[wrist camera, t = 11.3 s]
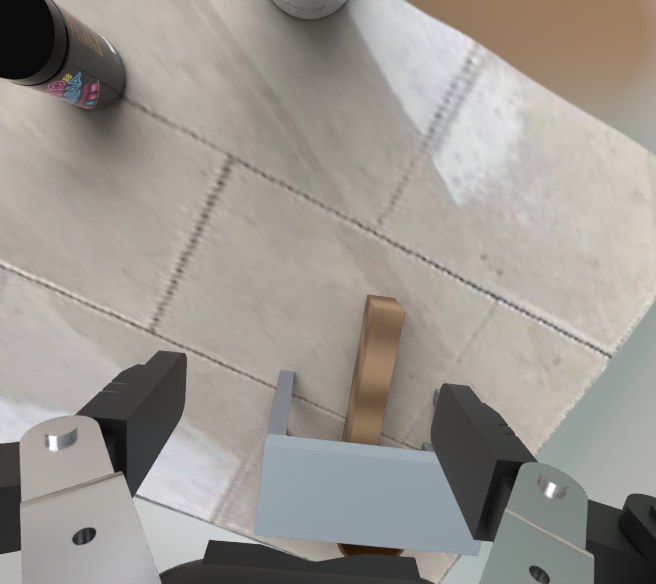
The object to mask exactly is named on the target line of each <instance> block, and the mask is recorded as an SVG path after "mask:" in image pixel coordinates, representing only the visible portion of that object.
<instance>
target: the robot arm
mask: <svg viewBox="0 0 656 584" xmlns="http://www.w3.org/2000/svg"><path fill="white" fill-rule="evenodd" d="M272 1H273V2H274V3H275V4H276V5H277V6H278V7H279V8H280V9H281V10H283V11H284V12H286V13H288V14H290V15H291V16H294V17H298V18H301V19H318V18H323V17H325V16H328V15H330V14H332V13H334V12H335V11H336V10H338V9H339V8H340V7H342V5H343V4H344V3H345V2H346V1H347V0H272ZM186 369H187V357H186V354H185V353H179V352H170V351H161V350H160V351H158V352H157V353H156V354H155V355H154V356H153V357H152V358H151V359H150V360H149V361H148V362H147V363H146V364H145V365H140V364H137V365H135V366H133V367H131V368H129V369H126V370H124V371H122V372H121V373H120V374H119V375H118V376H117V377H116V378H114V379H113V380H112V382H111V383H109V384H108V385H107V386H106V387H105V388H104V389H103V391H100V392H99V393H98V394H97V395H96V396H95V397H94V398H93V399H92V400H91V401H90V402H88V403H87V404H86V405H85V406H84V407H83V408H82V409H81V410H80V411H79V412H78V413H77V414H75V415H72V416H63V417H58V418H54V419H50V420H47V421H45V422H42V423H40V424H38V425H36V426H34V427H33V428H31V429H30V430H29V431H27V432H26V433H25V434H24V435H23V437H22V438H21V440H20V442H14V443H4V444H0V554H4V553H10V552H15V551H20V550H21V554H22V584H434V583H432V582H430V581H428V580H426V579H423V578H420V575H419V571H418V568H417V564H416V560H415V558H413V557H401V556H390V555H378V554H366V553H365V554H359V555H353V556H348V557H342V558H336V559H330V560H324V561H318V562H313V561H308V560H305V559H302V558H299V557H296V556H293V555H290V554H287V553H285V552H282V551H279V550H276V549H273V548H270V547H267V546H264V545H261V544H250V543H239V542H227V541H215V540H209V542H208V545H207V549H206V552H205V555H204V558H203V559H200V560H196V561H192V562H188V563H184V564H181V565H178V566H176V567H173V568H171V569H168V570H166V571H164V572H163V573H160V574H158V572H157V569H156V566H155V563H154V560H153V557H152V554H151V552H150V549H149V546H148V543H147V540H146V537H145V534H144V531H143V529H142V526H141V523H140V520H139V517H138V514H137V511H136V509H135V506H134V503H133V500H132V498H133V497H134V495H135V493H136V492H137V490H138V488H139V487H140V485H141V484H142V482H143V480H144V479H145V477H146V475H147V474H148V472H149V470H150V469H151V467H152V465H153V464H154V462H155V460H156V459H157V457H158V455H159V454H160V452H161V450H162V449H163V447H164V445H165V444H166V442H167V440H168V439H169V437H170V435H171V434H172V432H173V430H174V429H175V427H176V426H177V424H178V422H179V420H180V418H181V416H182V413H183V409H184V405H185V392H186ZM431 443H432V447H433V449H434V451H435V454H436V456H437V458H438V461H439V463H440V465H441V467H442V470H443V472H444V474H445V476H446V479H447V481H448V483H449V485H450V488H451V490H452V492H453V495H454V497H455V499H456V501H457V504H458V506H459V508H460V510H461V513H462V515H463V517H464V519H465V522H466V524H467V526H468V529H469V531H470V533H471V535H472V538H473V540H480V541H492V542H493V545H492V549H491V551H490V554H489V557H488V560H487V563H486V566H485V569H484V571H483V574H482V577H481V580H480V583H479V584H656V498H655V497H652V496H648V495H644V494H631V495H629V496H628V497H627V499H626V501H625V504H624V506H623V509H622V510H620V509H617V508H614V507H611V506H608V505H605V504H601V503H598V502H595V501H592V500H589V499H588V498H587V494H586V492H585V491H584V489H583V488H582V487H581V485H580V484H579V483H577V482H576V481H575V480H574V479H573V478H572V477H570V476H569V475H567V474H566V473H564V472H562V471H560V470H558V469H556V468H554V467H552V466H549V465H546V464H542V463H538V462H537V460H536V459H535V458H534V457H533V455H532V454H531V453H530V452H529V450H528V449H527V448H526V447H525V445H524V444H523V443H522V442H521V440H520V439H519V438H518V437H517V436H515V433H514V432H513V430H512V429H511V428H510V427H508V424H507V423H506V422H505V420H504V419H503V418H502V417H501V415H500V414H499V413H497V412H496V411H495V410H493V409H492V408H491V407H489V406H488V405H486V404H485V403H482V402H481V401H480V400H479V398H478V397H477V396H476V394H475V393H474V392H473V391H472V389H471V388H470V387H469V386H464V385H456V384H447V383H445V384H443V385H442V387H441V389H440V392H439V397H438V401H437V405H436V409H435V414H434V418H433V422H432V427H431Z"/></svg>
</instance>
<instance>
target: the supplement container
mask: <svg viewBox="0 0 656 584" xmlns="http://www.w3.org/2000/svg"><path fill="white" fill-rule="evenodd" d="M0 78H2V79H5V80H7V81H10V82H12V83H14V84H17V85H21V86H25V87H28V88H30V89H33V90H36V91H38V92H41V93H44V94H46V95H49V96H52V97H54V98H57V99H60V100H62V101H65V102H68V103H70V104H73V105H76V106H78V107H81V108H84V109H88V110H99V109H103V108H106V107H108V106H110V105H112V104H113V103H114V102H116V100H117V99H118V98H119V97H120V95H121V93H122V91H123V88H124V84H125V70H124V66H123V62H122V60H121V57H120V55H119V53H118V52H117V50H116V49H115V48H114V46H113V45H112V44H111V43H110V42H109V41H108V40H107V39H105V38H104V37H103V36H101V35H100V34H99V33H97V32H96V31H95V30H93V29H92V28H90V27H89V26H88V25H86V24H85V23H84V22H82V21H81V20H80V19H78V18H77V17H76V16H74V15H73V14H72V13H70V12H69V11H68V10H66V9H65V8H64V7H62V6H61V5H59V4H58V3H57V2H55V1H54V0H0Z"/></svg>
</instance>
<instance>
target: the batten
mask: <svg viewBox="0 0 656 584" xmlns="http://www.w3.org/2000/svg"><path fill="white" fill-rule="evenodd" d="M404 315H405V312H404V310H403V309H402V308H401V306H400V305H399V304H398V302H397V301H396V300H395V298H389V297H381V296H374V295H368V296H367V302H366V307H365V313H364V319H363V324H362V330H361V335H360V341H359V347H358V352H357V358H356V364H355V369H354V375H353V381H352V386H351V392H350V397H349V403H348V409H347V414H346V420H345V426H344V431H343V437H342V442H347V443H357V444H366V445H375V446H378V442H379V437H380V432H381V427H382V423H383V418H384V413H385V408H386V403H387V398H388V393H389V388H390V383H391V378H392V373H393V369H394V364H395V359H396V354H397V349H398V344H399V339H400V334H401V329H402V324H403V320H404Z"/></svg>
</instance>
